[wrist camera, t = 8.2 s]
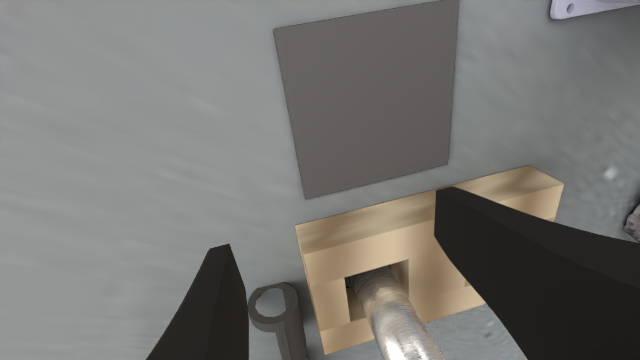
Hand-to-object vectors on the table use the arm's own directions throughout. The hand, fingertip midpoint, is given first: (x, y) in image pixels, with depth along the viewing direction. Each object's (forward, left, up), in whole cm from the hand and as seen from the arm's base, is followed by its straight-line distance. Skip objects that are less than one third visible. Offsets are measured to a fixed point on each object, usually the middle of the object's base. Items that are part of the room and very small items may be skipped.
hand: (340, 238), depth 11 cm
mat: (-5, -1, -9) cm, 11 cm away
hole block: (-8, +11, -9) cm, 17 cm away
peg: (-4, +11, -9) cm, 15 cm away
